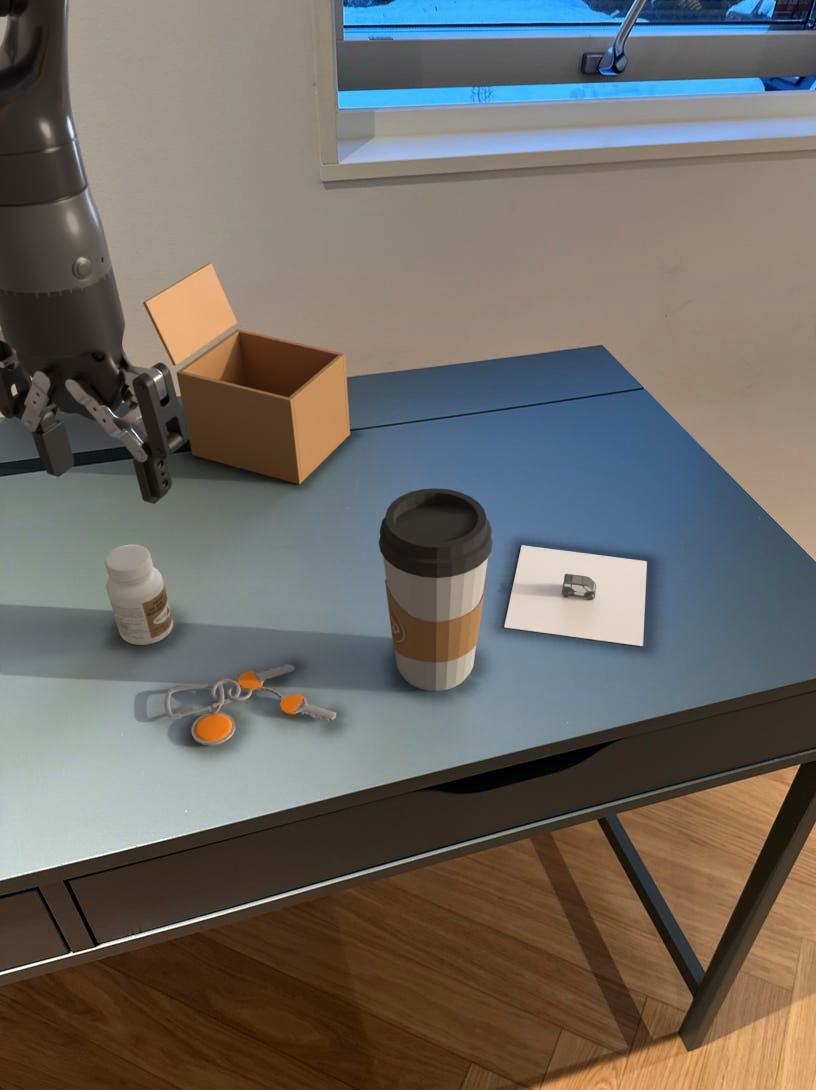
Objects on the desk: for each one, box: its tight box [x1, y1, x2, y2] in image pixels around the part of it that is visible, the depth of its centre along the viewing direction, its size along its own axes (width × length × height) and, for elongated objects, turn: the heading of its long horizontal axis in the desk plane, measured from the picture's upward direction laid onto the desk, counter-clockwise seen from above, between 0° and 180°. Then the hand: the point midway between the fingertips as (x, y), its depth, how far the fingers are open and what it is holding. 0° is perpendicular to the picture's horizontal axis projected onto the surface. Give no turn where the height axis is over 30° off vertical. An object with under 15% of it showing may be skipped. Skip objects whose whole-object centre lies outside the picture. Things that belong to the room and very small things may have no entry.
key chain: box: [163, 663, 337, 746], centre depth 73 cm, size 13×7×1 cm, turn 104°
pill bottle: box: [104, 543, 174, 646], centre depth 77 cm, size 4×4×8 cm
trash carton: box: [175, 328, 351, 485], centre depth 98 cm, size 13×11×10 cm
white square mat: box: [503, 544, 648, 647], centre depth 84 cm, size 12×12×2 cm
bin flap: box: [142, 262, 238, 367], centre depth 94 cm, size 6×11×1 cm
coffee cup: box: [378, 487, 493, 692], centre depth 72 cm, size 8×8×15 cm
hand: (108, 483), depth 69 cm, fingers open, 8 cm apart
